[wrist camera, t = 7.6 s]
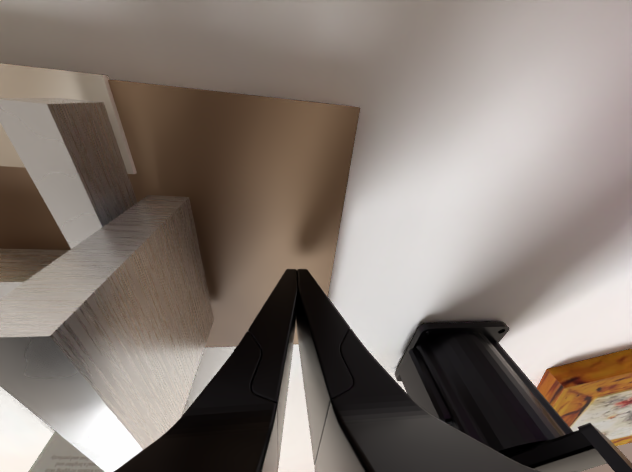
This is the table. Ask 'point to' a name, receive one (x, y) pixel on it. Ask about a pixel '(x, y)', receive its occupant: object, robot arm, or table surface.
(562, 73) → the table surface
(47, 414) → the gray t-shaped beam
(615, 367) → the picture frame
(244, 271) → the base
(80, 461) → the skincare box
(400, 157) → the table surface
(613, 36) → the table surface
